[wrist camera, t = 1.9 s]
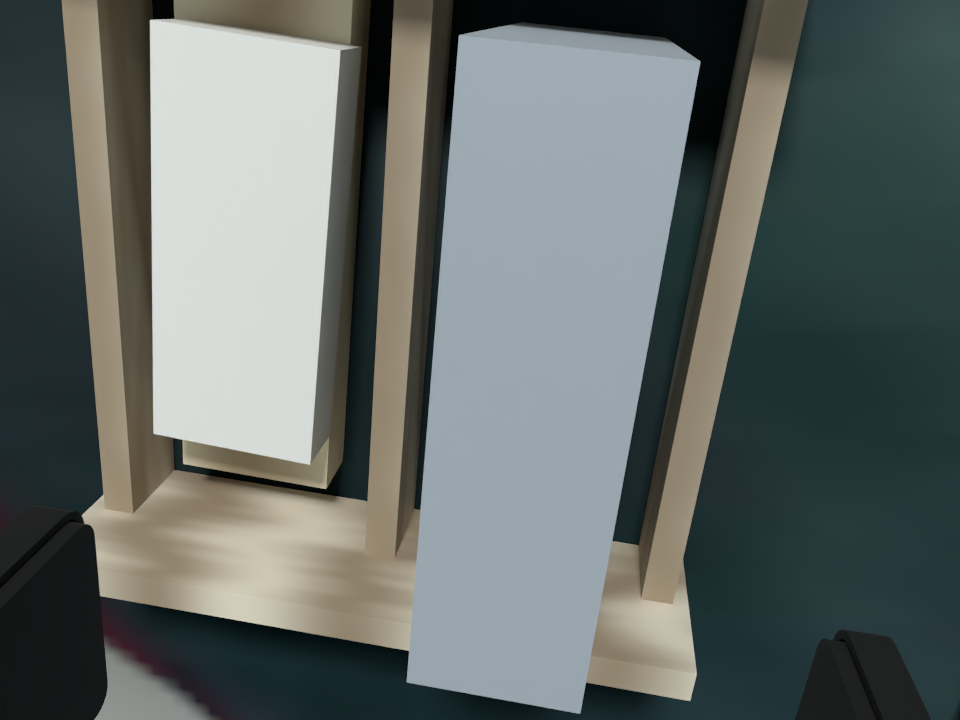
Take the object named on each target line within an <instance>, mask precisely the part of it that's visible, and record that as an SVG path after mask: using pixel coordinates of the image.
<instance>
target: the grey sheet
mask: <svg viewBox="0 0 960 720" xmlns="http://www.w3.org/2000/svg"><path fill="white" fill-rule="evenodd" d="M700 62H701V61H699V60H698V59H696V58H695V57H693V56H692V55H690V54H689V53H687V52H686V51H684V50H683V49H681V48H680V47H679V46H677V45H676V44H674V43H673V42H671V41H670V40H668V39H667V38H665V37H657V36H648V35H638V34H629V33H619V32H610V31H601V30H591V29H582V28H573V27H563V26H554V25H545V24H535V23H526V22H521V23H516V24H511V25H506V26H501V27H496V28H491V29H486V30H481V31H476V32H472V33H467V34H462V35H459V40H458V52H457V65H456V77H455V90H454V102H453V114H452V127H451V139H450V151H449V164H448V176H447V189H446V201H445V213H444V226H443V238H442V251H441V263H440V275H439V288H438V300H437V313H436V325H435V337H434V350H433V362H432V374H431V387H430V399H429V412H428V424H427V436H426V449H425V461H424V474H423V486H422V498H421V511H420V523H419V536H418V548H417V560H416V573H415V585H414V598H413V610H412V622H411V635H410V647H409V659H408V672H407V683H413V684H418V685H424V686H429V687H435V688H440V689H446V690H452V691H457V692H463V693H468V694H474V695H479V696H485V697H490V698H496V699H501V700H507V701H512V702H518V703H523V704H529V705H534V706H540V707H545V708H551V709H556V710H562V711H567V712H573V713H578V714H580V712H581V707H582V702H583V696H584V691H585V685H586V680H587V674H588V669H589V664H590V658H591V653H592V647H593V642H594V637H595V631H596V626H597V620H598V615H599V609H600V604H601V599H602V593H603V588H604V582H605V577H606V572H607V566H608V561H609V555H610V550H611V544H612V539H613V534H614V528H615V523H616V517H617V512H618V507H619V501H620V496H621V490H622V485H623V479H624V474H625V469H626V463H627V458H628V452H629V447H630V441H631V436H632V431H633V425H634V420H635V414H636V409H637V404H638V398H639V393H640V387H641V382H642V376H643V371H644V366H645V360H646V355H647V349H648V344H649V339H650V333H651V328H652V322H653V317H654V311H655V306H656V301H657V295H658V290H659V284H660V279H661V274H662V268H663V263H664V257H665V252H666V246H667V241H668V236H669V230H670V225H671V219H672V214H673V208H674V203H675V198H676V192H677V187H678V181H679V176H680V171H681V165H682V160H683V154H684V149H685V143H686V138H687V133H688V127H689V122H690V116H691V111H692V106H693V100H694V95H695V89H696V84H697V78H698V73H699V68H700Z"/></svg>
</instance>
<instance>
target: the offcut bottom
mask: <svg viewBox="0 0 960 720" xmlns="http://www.w3.org/2000/svg"><path fill="white" fill-rule="evenodd" d="M370 9H371V0H174V19H191V20H197V21H204V22H210V23H216V24H222V25H229V26H235V27H241V28H247V29H254V30H260V31H266V32H272V33H279V34H285V35H291V36H297V37H303V38H310V39H316V40H322V41H328V42H335V43H341V44H347V45H353V46H360V47H362V50H361V62H360V74H359V86H358V98H357V111H356V123H355V135H354V147H353V159H352V171H351V184H350V196H349V208H348V220H347V232H346V244H345V257H344V269H343V281H342V293H341V305H340V318H339V330H338V342H337V354H336V366H335V378H334V391H333V403H332V415H331V427H330V436H329V437H328V439H327V440H326V442H325V443H324V445H323V446H322V448H321V449H320V451H319V452H318V454H317V455H316V457H315V458H314V460H313V461H312V463H311V465H308V464H303V463H298V462H293V461H288V460H283V459H278V458H273V457H268V456H263V455H258V454H253V453H248V452H243V451H238V450H233V449H228V448H222V447H217V446H212V445H207V444H202V443H197V442H192V441H187V440H183V464H187V465H193V466H198V467H204V468H210V469H215V470H221V471H227V472H232V473H238V474H243V475H249V476H255V477H260V478H266V479H272V480H277V481H283V482H289V483H294V484H300V485H305V486H311V487H317V488H322V489H327V487H328V485H329V484H330V482H331V480H332V479H333V477H334V475H335V473H336V472H337V470H338V468H339V467H340V465H341V463H342V462H343V448H344V432H345V415H346V399H347V383H348V367H349V350H350V334H351V318H352V302H353V285H354V269H355V253H356V237H357V220H358V204H359V188H360V172H361V155H362V139H363V123H364V107H365V90H366V74H367V58H368V42H369V25H370Z"/></svg>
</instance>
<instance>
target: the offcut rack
mask: <svg viewBox="0 0 960 720" xmlns="http://www.w3.org/2000/svg"><path fill="white" fill-rule="evenodd" d="M453 2H454V0H394V12H393V31H392V50H391V68H390V87H389V106H388V125H387V144H386V163H385V182H384V201H383V220H382V239H381V258H380V277H379V296H378V315H377V334H376V353H375V372H374V391H373V410H372V429H371V448H370V467H369V486H368V501H363V500H356V499H350V498H344V497H338V496H332V495H326V494H320V493H313V492H307V491H301V490H295V489H289V488H283V487H276V486H270V485H264V484H258V483H252V482H246V481H239V480H233V479H227V478H221V477H215V476H209V475H203V474H196V473H190V472H184V471H178V470H175V469H174V448H173V438H172V437H167V436H162V435H157V434H153V328H152V210H151V92H150V20H153V6H152V0H62V9H63V21H64V33H65V44H66V56H67V68H68V80H69V92H70V103H71V115H72V127H73V139H74V150H75V162H76V174H77V186H78V197H79V209H80V221H81V233H82V244H83V256H84V268H85V280H86V292H87V303H88V315H89V327H90V339H91V350H92V362H93V374H94V386H95V397H96V409H97V421H98V433H99V444H100V456H101V468H102V480H103V491H104V495H103V496H102V497H101V498H99V499H98V500H97V501H96V502H95V503H94V504H93V505H92V506H91V507H90V508H89V509H88V510H87V511H86V512H85V513H84V514H83V515H82V517H83V520H84V524H88V525H90V526H92V528H93V530H94V534H95V544H96V555H97V567H98V578H99V590H100V596H104V597H109V598H115V599H120V600H126V601H132V602H137V603H143V604H149V605H154V606H160V607H165V608H171V609H177V610H182V611H188V612H193V613H199V614H205V615H210V616H216V617H221V618H227V619H233V620H238V621H244V622H249V623H255V624H261V625H266V626H272V627H278V628H283V629H289V630H294V631H300V632H306V633H311V634H317V635H322V636H328V637H334V638H339V639H345V640H350V641H356V642H362V643H367V644H373V645H378V646H384V647H390V648H395V649H401V650H407V651H409V647H410V635H411V622H412V610H413V598H414V585H415V573H416V560H417V548H418V536H419V523H420V511H421V510H418V509H414V506H415V493H416V480H417V467H418V454H419V441H420V429H421V416H422V403H423V390H424V377H425V364H426V351H427V338H428V325H429V312H430V299H431V287H432V274H433V261H434V248H435V235H436V222H437V209H438V196H439V183H440V170H441V157H442V144H443V132H444V119H445V106H446V93H447V80H448V67H449V54H450V41H451V28H452V15H453ZM807 4H808V0H747V4H746V9H745V14H744V19H743V24H742V29H741V34H740V39H739V44H738V49H737V54H736V59H735V64H734V69H733V74H732V79H731V84H730V89H729V94H728V99H727V104H726V109H725V114H724V119H723V124H722V129H721V134H720V139H719V144H718V149H717V155H716V160H715V165H714V170H713V175H712V180H711V185H710V190H709V195H708V200H707V205H706V210H705V215H704V220H703V225H702V230H701V235H700V240H699V245H698V250H697V255H696V260H695V265H694V270H693V275H692V280H691V285H690V290H689V295H688V300H687V305H686V310H685V315H684V320H683V325H682V330H681V335H680V340H679V345H678V350H677V355H676V360H675V365H674V370H673V375H672V380H671V386H670V391H669V396H668V401H667V406H666V411H665V416H664V421H663V426H662V431H661V436H660V441H659V446H658V451H657V456H656V461H655V466H654V471H653V476H652V481H651V486H650V491H649V496H648V501H647V506H646V511H645V516H644V521H643V526H642V531H641V536H640V541H639V545H634V544H627V543H621V542H615V541H612V544H611V550H610V555H609V561H608V566H607V572H606V577H605V582H604V588H603V593H602V599H601V604H600V609H599V615H598V620H597V626H596V631H595V637H594V642H593V647H592V653H591V658H590V664H589V669H588V674H587V680H586V683H592V684H597V685H603V686H608V687H614V688H620V689H625V690H631V691H636V692H642V693H648V694H653V695H659V696H664V697H670V698H676V699H681V700H687V701H690V700H691V696H692V691H693V687H694V683H695V679H696V675H697V672H696V664H695V655H694V647H693V639H692V631H691V622H690V614H689V606H688V598H687V589H686V581H685V573H684V565H683V556H684V552H685V548H686V543H687V539H688V534H689V530H690V525H691V521H692V516H693V512H694V507H695V503H696V498H697V494H698V490H699V485H700V481H701V476H702V472H703V467H704V463H705V458H706V454H707V449H708V445H709V441H710V436H711V432H712V427H713V423H714V418H715V414H716V409H717V405H718V400H719V396H720V392H721V387H722V383H723V378H724V374H725V369H726V365H727V360H728V356H729V351H730V347H731V343H732V338H733V334H734V329H735V325H736V320H737V316H738V311H739V307H740V302H741V298H742V294H743V289H744V285H745V280H746V276H747V271H748V267H749V262H750V258H751V253H752V249H753V245H754V240H755V236H756V231H757V227H758V222H759V218H760V213H761V209H762V204H763V200H764V196H765V191H766V187H767V182H768V178H769V173H770V169H771V164H772V160H773V155H774V151H775V147H776V142H777V138H778V133H779V129H780V124H781V120H782V115H783V111H784V106H785V102H786V98H787V93H788V89H789V84H790V80H791V75H792V71H793V66H794V62H795V57H796V53H797V49H798V44H799V40H800V35H801V31H802V26H803V22H804V17H805V13H806V8H807Z"/></svg>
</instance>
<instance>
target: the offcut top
mask: <svg viewBox="0 0 960 720" xmlns="http://www.w3.org/2000/svg"><path fill="white" fill-rule="evenodd" d="M361 50H362V47H360V46H353V45H347V44H341V43H335V42H328V41H322V40H316V39H310V38H303V37H297V36H291V35H285V34H279V33H272V32H266V31H260V30H254V29H247V28H241V27H235V26H229V25H222V24H216V23H210V22H204V21H197V20H191V19H156V20H150V92H151V210H152V328H153V434H157V435H162V436H167V437H172V438H177V439H182V440H187V441H192V442H197V443H202V444H207V445H212V446H217V447H222V448H228V449H233V450H238V451H243V452H248V453H253V454H258V455H263V456H268V457H273V458H278V459H283V460H288V461H293V462H298V463H303V464H308V465H311V463H312V461H313V460H314V458H315V457H316V455H317V454H318V452H319V451H320V449H321V448H322V446H323V445H324V443H325V442H326V440H327V439H328V437H329V436H330V427H331V415H332V403H333V391H334V378H335V366H336V354H337V342H338V330H339V318H340V305H341V293H342V281H343V269H344V257H345V244H346V232H347V220H348V208H349V196H350V184H351V171H352V159H353V147H354V135H355V123H356V111H357V98H358V86H359V74H360V62H361Z"/></svg>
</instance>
